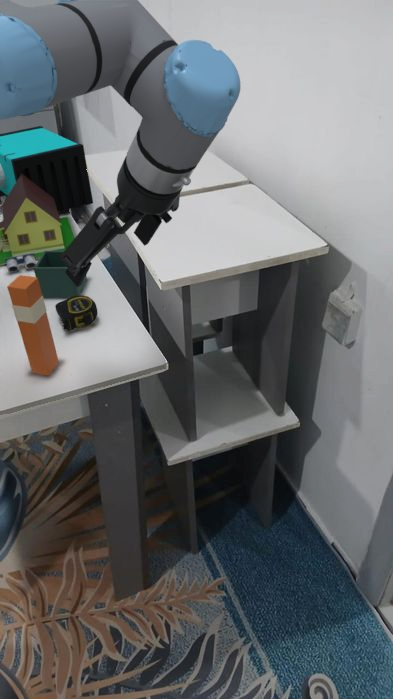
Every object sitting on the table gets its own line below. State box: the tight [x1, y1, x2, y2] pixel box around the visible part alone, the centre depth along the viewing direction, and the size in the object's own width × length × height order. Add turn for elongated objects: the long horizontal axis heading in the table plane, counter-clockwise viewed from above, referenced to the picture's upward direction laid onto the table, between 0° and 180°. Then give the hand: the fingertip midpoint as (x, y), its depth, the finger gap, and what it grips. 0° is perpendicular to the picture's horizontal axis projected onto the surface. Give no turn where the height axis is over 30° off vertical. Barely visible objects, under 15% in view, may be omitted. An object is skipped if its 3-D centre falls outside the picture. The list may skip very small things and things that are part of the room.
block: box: [6, 274, 60, 377], centre depth 82 cm, size 3×4×16 cm
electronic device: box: [0, 125, 94, 213], centre depth 137 cm, size 25×25×15 cm
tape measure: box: [54, 295, 99, 332], centre depth 96 cm, size 7×7×4 cm
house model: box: [0, 173, 75, 266], centre depth 120 cm, size 18×20×13 cm
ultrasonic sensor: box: [5, 253, 37, 273], centre depth 113 cm, size 6×2×3 cm, turn 108°
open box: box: [33, 251, 88, 299], centre depth 105 cm, size 8×7×6 cm
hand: (108, 257), depth 82 cm, fingers open, 13 cm apart
